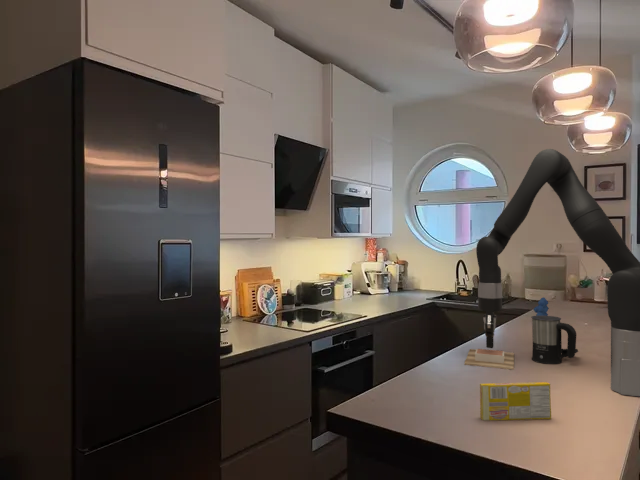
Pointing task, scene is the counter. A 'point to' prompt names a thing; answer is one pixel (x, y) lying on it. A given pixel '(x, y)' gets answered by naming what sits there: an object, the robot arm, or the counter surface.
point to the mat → (506, 365)
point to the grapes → (541, 307)
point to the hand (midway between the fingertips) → (489, 347)
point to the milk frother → (551, 340)
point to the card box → (489, 355)
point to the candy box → (515, 401)
